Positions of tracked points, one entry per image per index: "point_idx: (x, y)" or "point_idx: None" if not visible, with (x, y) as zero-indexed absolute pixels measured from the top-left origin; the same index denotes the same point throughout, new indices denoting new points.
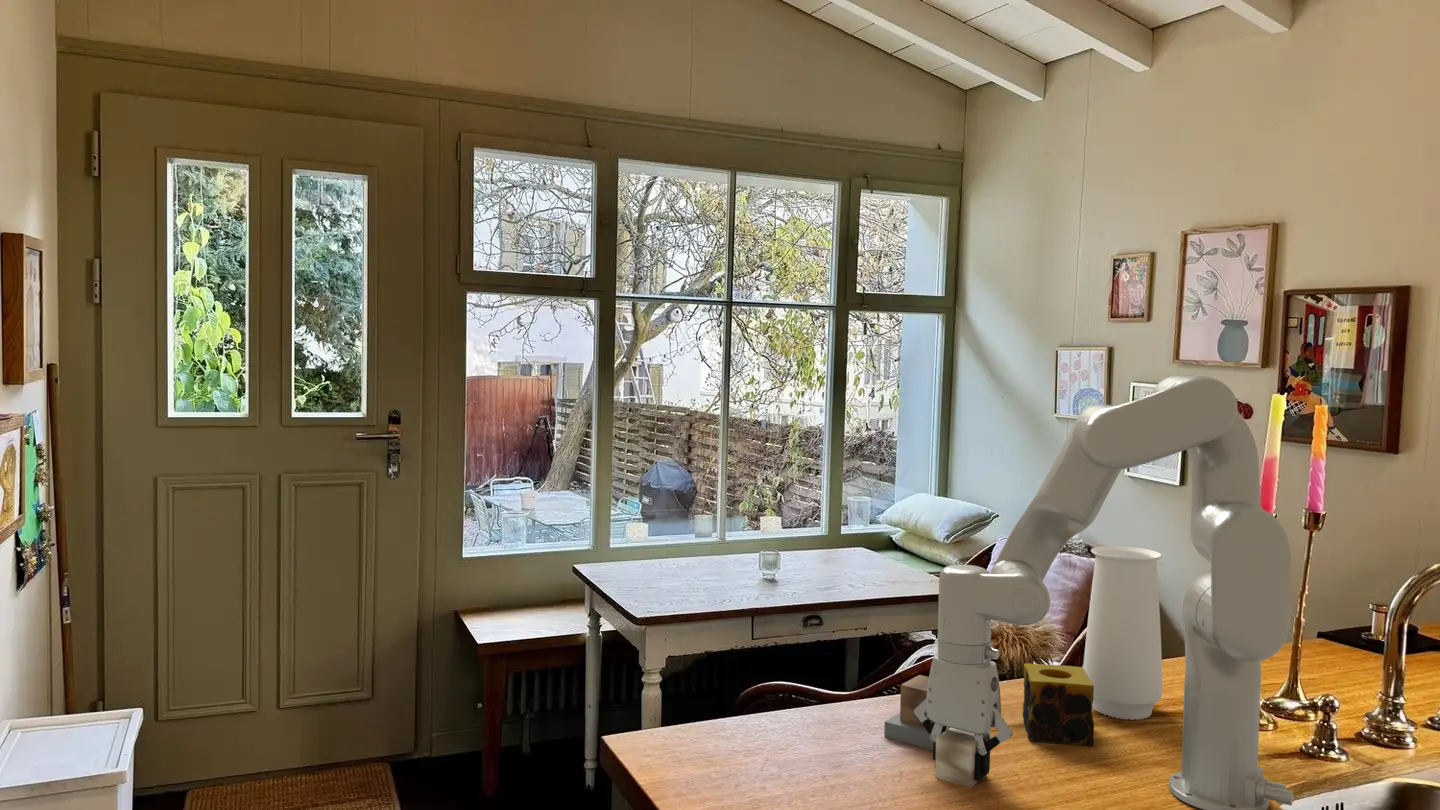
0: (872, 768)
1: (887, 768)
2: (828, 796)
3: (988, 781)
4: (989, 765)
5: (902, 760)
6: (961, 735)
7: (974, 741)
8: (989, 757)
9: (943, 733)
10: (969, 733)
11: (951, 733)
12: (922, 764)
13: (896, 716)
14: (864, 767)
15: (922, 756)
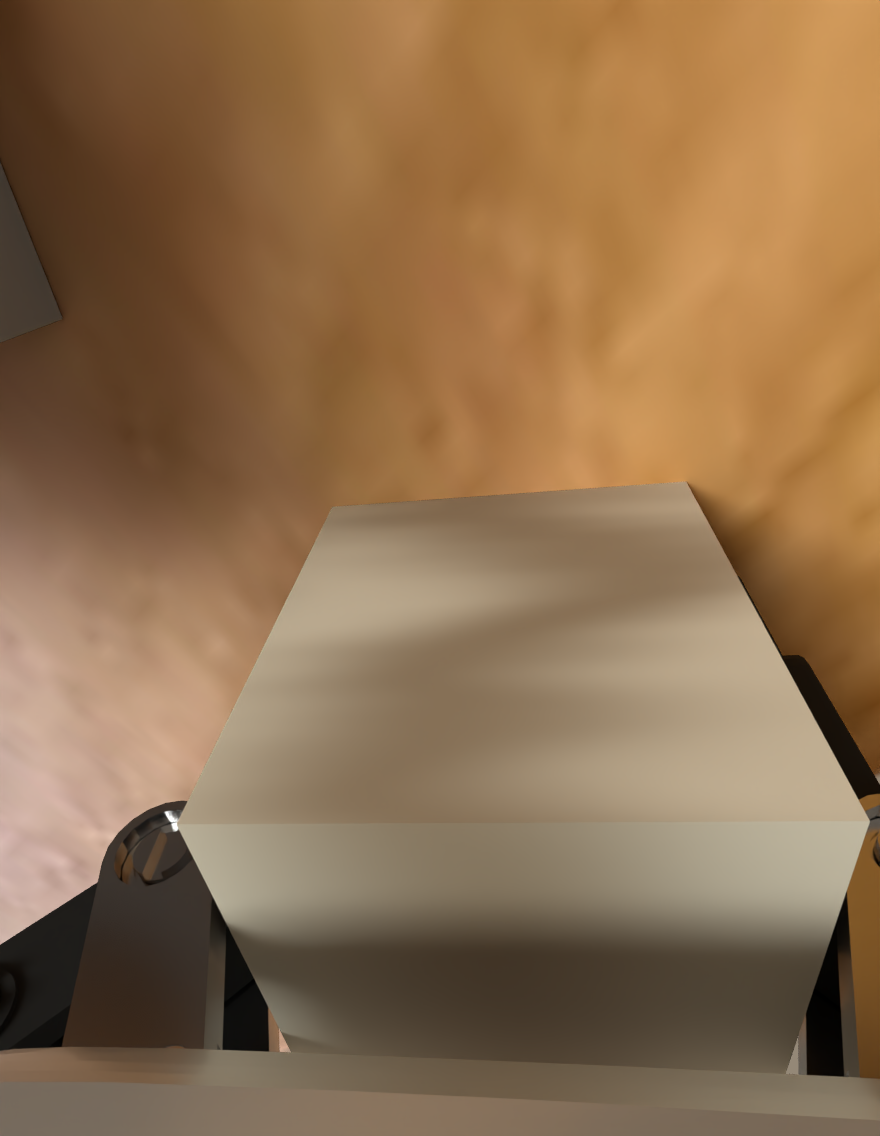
0: (67, 846)
1: (110, 807)
2: None
3: (751, 578)
4: (822, 695)
5: (48, 673)
6: (502, 985)
7: (748, 1037)
8: (862, 769)
9: (296, 1025)
10: (558, 898)
11: (364, 995)
12: (180, 641)
13: None
14: (35, 858)
15: (53, 519)
